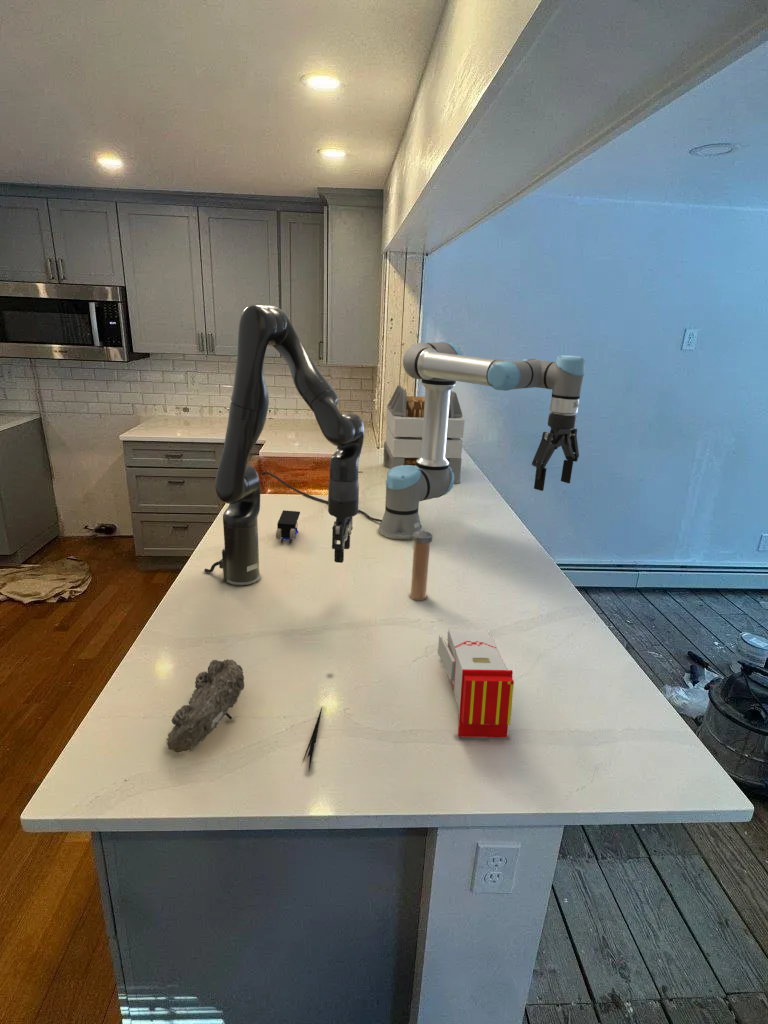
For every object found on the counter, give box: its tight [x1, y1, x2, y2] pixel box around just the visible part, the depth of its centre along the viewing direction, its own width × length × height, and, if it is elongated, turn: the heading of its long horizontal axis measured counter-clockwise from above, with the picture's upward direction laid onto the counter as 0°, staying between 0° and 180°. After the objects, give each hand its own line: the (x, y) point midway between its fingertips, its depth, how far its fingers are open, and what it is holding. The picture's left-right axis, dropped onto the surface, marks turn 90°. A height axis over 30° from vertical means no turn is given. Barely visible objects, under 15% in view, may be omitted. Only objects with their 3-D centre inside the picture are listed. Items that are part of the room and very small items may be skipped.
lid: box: [411, 530, 433, 544], centre depth 151 cm, size 5×5×2 cm
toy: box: [437, 628, 515, 738], centre depth 117 cm, size 12×13×30 cm
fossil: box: [166, 658, 245, 754], centre depth 106 cm, size 22×10×15 cm
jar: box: [409, 541, 431, 601], centre depth 154 cm, size 4×4×18 cm
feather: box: [301, 673, 332, 771], centre depth 108 cm, size 2×28×2 cm
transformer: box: [383, 384, 465, 484], centre depth 268 cm, size 34×33×41 cm
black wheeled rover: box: [275, 509, 301, 544], centre depth 191 cm, size 7×8×15 cm
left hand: (342, 555), depth 146 cm, fingers open, 8 cm apart
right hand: (552, 485), depth 166 cm, fingers open, 13 cm apart
